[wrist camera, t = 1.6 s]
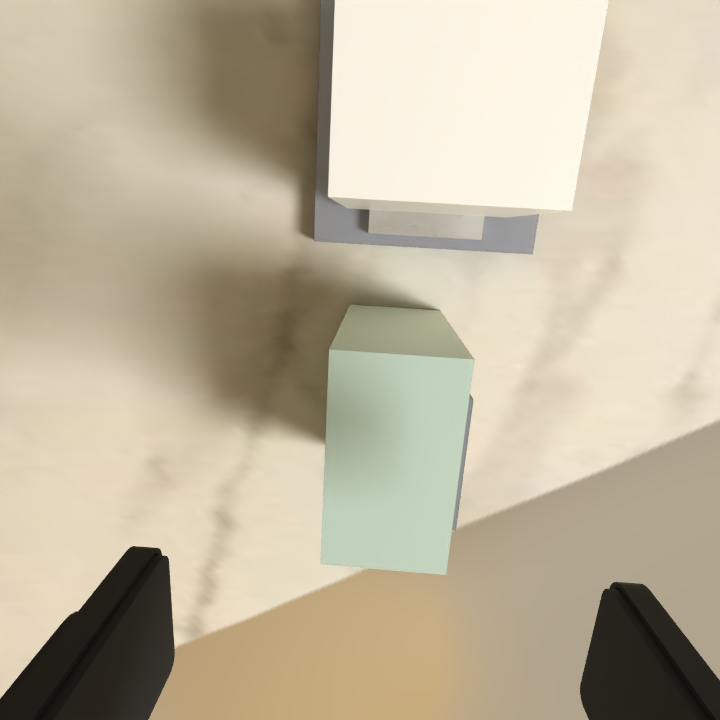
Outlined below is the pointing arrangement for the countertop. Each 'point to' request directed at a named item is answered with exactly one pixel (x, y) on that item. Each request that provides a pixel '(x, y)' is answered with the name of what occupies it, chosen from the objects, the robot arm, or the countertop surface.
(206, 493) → the countertop surface
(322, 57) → the board
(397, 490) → the block
